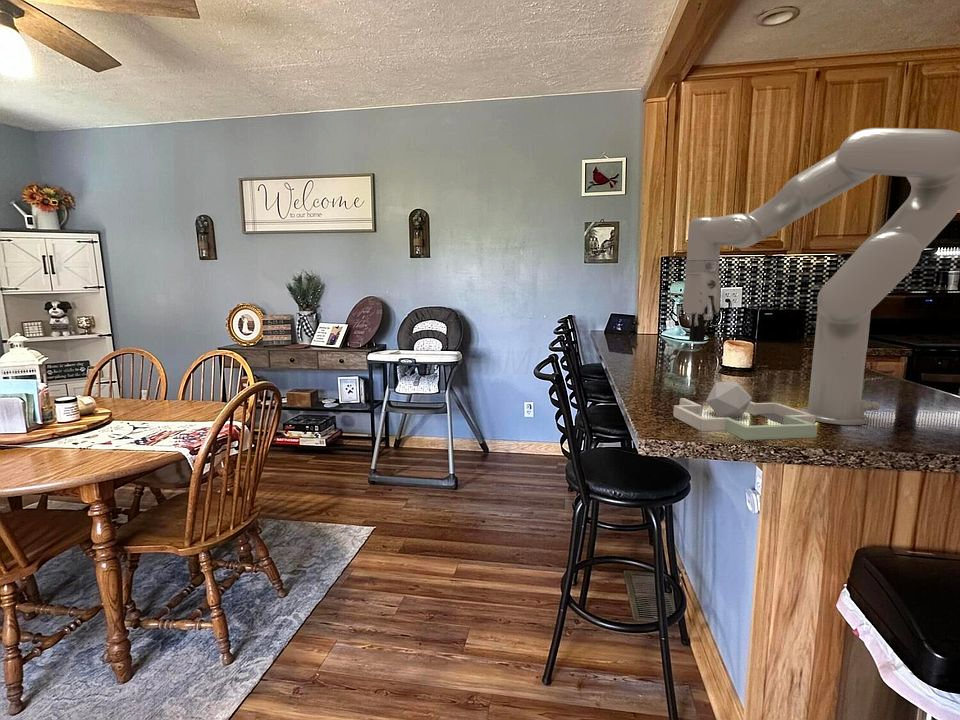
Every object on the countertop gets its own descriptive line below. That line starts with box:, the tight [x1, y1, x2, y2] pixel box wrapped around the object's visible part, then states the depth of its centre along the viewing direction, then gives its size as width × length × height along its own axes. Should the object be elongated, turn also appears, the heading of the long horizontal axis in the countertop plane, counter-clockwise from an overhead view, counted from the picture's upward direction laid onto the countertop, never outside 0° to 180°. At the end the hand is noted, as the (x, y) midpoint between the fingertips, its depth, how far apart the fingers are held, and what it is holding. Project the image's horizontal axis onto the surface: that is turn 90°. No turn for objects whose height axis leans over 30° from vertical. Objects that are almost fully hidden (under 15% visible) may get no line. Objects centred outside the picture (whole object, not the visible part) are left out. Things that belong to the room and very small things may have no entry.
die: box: [705, 381, 753, 418], centre depth 114 cm, size 8×9×10 cm
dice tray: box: [673, 397, 818, 441], centre depth 110 cm, size 25×26×2 cm
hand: (696, 341), depth 127 cm, fingers closed
